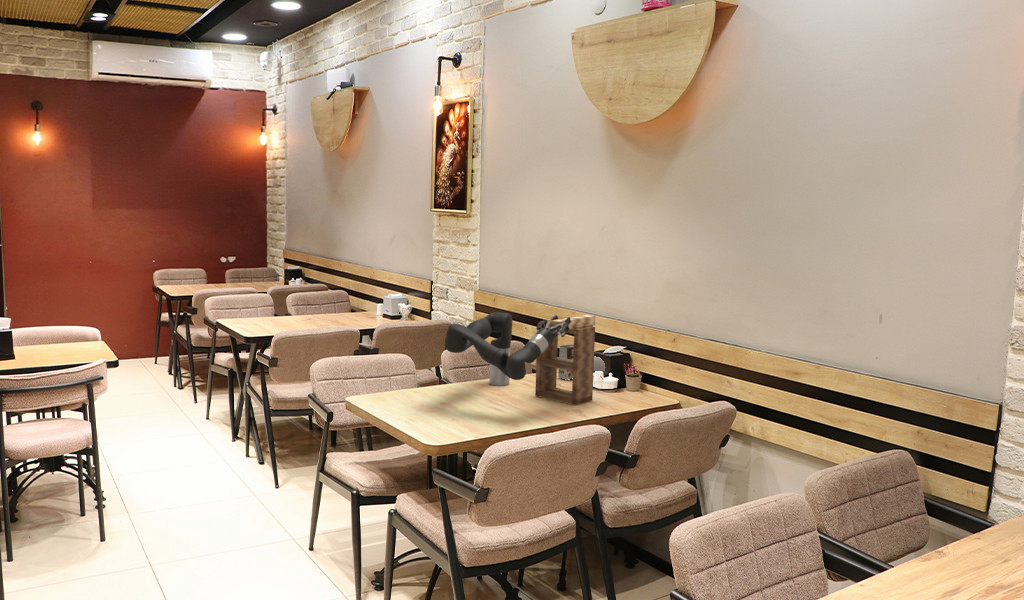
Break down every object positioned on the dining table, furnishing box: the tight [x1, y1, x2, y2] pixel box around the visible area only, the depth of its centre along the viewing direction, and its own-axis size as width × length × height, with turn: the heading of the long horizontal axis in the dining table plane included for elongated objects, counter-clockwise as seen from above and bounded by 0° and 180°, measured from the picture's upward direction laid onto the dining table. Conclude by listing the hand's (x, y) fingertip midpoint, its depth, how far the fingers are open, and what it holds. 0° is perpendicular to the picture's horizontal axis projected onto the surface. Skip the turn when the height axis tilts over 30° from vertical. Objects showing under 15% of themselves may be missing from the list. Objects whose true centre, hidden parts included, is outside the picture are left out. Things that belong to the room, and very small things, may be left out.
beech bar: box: [550, 314, 596, 330], centre depth 333 cm, size 26×4×4 cm, turn 138°
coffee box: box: [557, 343, 574, 381], centre depth 380 cm, size 9×6×16 cm
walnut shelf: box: [534, 319, 596, 406], centre depth 342 cm, size 12×22×33 cm, turn 48°
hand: (563, 318), depth 328 cm, fingers open, 6 cm apart
